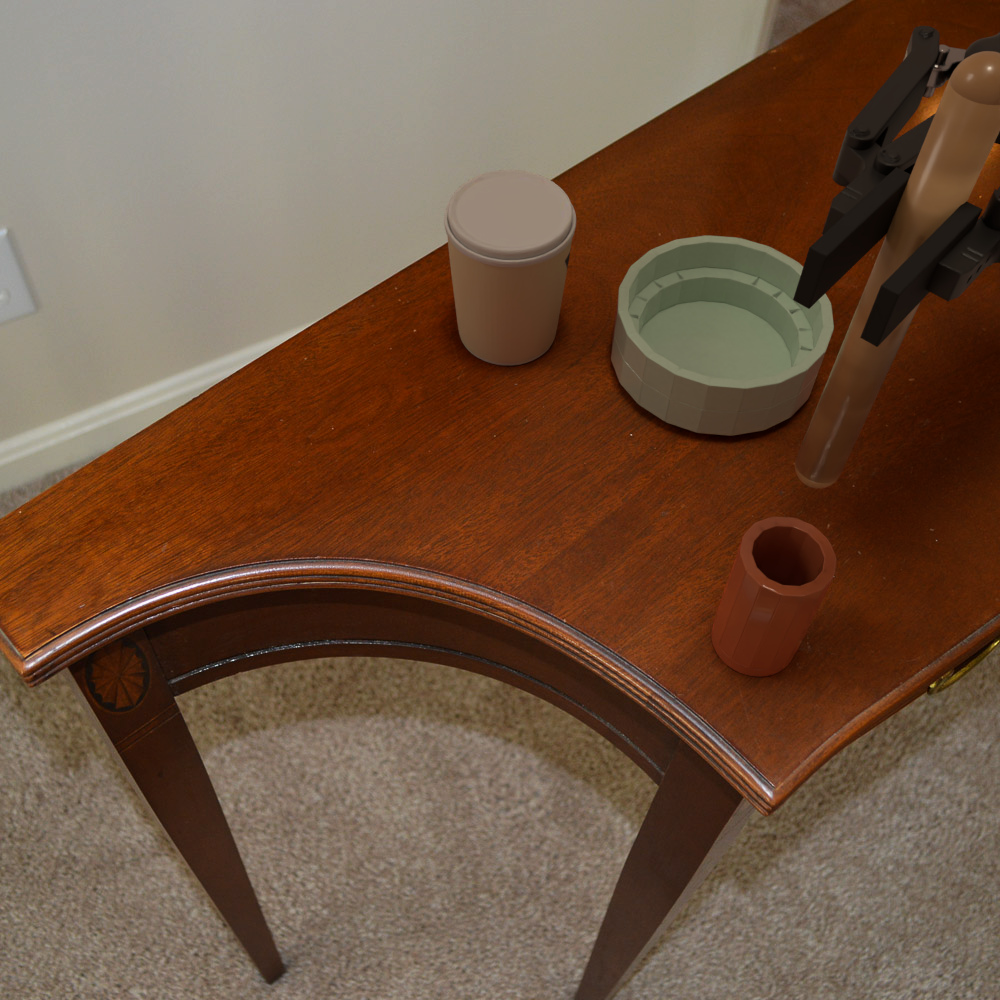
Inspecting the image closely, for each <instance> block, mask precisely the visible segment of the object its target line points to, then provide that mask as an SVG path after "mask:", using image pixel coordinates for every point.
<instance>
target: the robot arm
mask: <svg viewBox="0 0 1000 1000" xmlns="http://www.w3.org/2000/svg"><path fill="white" fill-rule="evenodd" d="M940 36H941V35H940V32H939V30H938V29H937V28H934V27H933V26H930V25H929V26H928V25H919V26H918V25H917V26H915V27H914V28H913V30H912V33H911V36H910V38H909V41H908V44H907V47H906V50H905V53H904V56H903V58H902V62H901V63H900V64H899V65H898V66H897V67H896V69H894V71H893V72H892V73H891V74H890V76H889V77H888V78H887V80H885V81H884V83H883V84H882V85H881V86H880V88H879V89H878V90H877V91H876V92H875V93H874V95H872V97H871V99H869V101H868V102H867V103H866V104H865V105H864V107H863V108H862V109H861V110H860V111H859V112H858V114H857V115H856V116H855V117H854V118H853V120H852V121H851V122H850V123H849V124H848V126H847V128H846V132H845V135H844V138H843V141H842V144H841V147H840V150H839V153H838V157H837V159H836V161H835V162H836V163H835V166H834V170H833V173H832V176H831V178H832V181H833V182H834V183H835V184H837V185H838V186H840V187H844V188H843V189H841V191H840V192H838V194H836V195H835V196H834V197H832V201H831V204H830V206H829V210H828V213H827V216H826V219H825V222H824V225H823V229H822V233H821V236H820V237H819V238H818V239H817V240H816V241H815V242H814V243H812V244H811V246H809V247H808V251H807V254H806V257H805V261H804V264H803V265H802V266H803V270H802V273H801V276H800V279H799V282H798V286H797V289H796V292H795V295H794V298H793V300H794V301H796V302H797V303H799V304H801V305H803V306H805V307H806V308H808V309H810V308H811V307H812V306H813V305H814V304H815V303H816V302H817V301H818V300H819V299H820V298H821V297H822V296H823V295H824V294H825V293H828V291H829V290H831V289H832V288H833V287H834V286H835V285H836V284H837V283H838V282H839V281H840V280H841V279H842V278H843V277H844V276H845V275H846V274H847V273H848V272H849V271H850V270H851V269H853V267H854V266H855V265H856V264H857V263H858V262H859V261H860V260H862V259H863V258H864V257H865V256H866V255H867V254H868V253H869V252H870V251H871V250H872V249H873V248H875V246H876V245H877V244H878V243H879V242H880V241H881V240H882V239H884V238H885V237H886V235H887V232H888V230H889V227H890V225H891V222H892V220H893V217H894V215H895V212H896V210H897V207H898V205H899V202H900V200H901V197H902V195H903V192H904V190H905V188H906V185H907V183H908V180H909V178H910V175H911V173H912V170H913V168H914V165H915V163H916V160H917V158H918V155H919V153H920V150H921V148H922V146H923V143H924V141H925V138H926V136H927V133H928V131H929V128H930V126H931V123H932V121H933V118H934V116H935V113H933V114H932V115H930V116H929V117H927V118H925V119H924V120H922V121H921V122H920V123H918V124H917V125H915V126H914V127H912V128H911V129H909V130H907V131H906V132H904V133H903V134H901V135H900V136H898V135H899V134H900V132H901V131H902V130H903V129H904V128H905V126H906V124H908V123H909V121H910V120H911V118H912V117H913V116H914V114H915V113H916V112H917V110H918V109H919V107H920V105H921V102H922V99H923V98H925V99H928V98H932V97H933V96H934V94H935V91H936V89H938V88H939V89H940V88H942V87H943V86H944V85H945V84H946V82H947V81H949V79H950V77H951V75H952V73H953V71H954V70H955V68H956V67H957V66H958V65H959V64H960V63H961V62H962V61H963V60H964V59H966V58H967V57H969V56H971V55H973V54H975V53H979V52H983V51H993V52H998V53H1000V31H998V33H997V34H994V35H992V36H988V37H987V36H986V37H982V38H978V39H977V40H975V41H973V42H972V43H970V45H969V46H968V47H967V48H966V49H965V48H958V47H951V46H949V45H947V44H940V38H941V37H940ZM897 136H898V137H897ZM994 144H997V145H1000V132H999V134H998V136H997V138H996V140H995V142H994ZM982 212H983V213H982ZM994 264H1000V186H999V187H998V188H997V189H996V188H994V189H993V191H992V194H991V196H990V198H989V200H988V203H987V205H986V207H985V209H984V211H983V208H981V207H980V206H977V205H975V204H973V203H971V202H969V201H966V202H965V203H964V204H962V205H961V206H960V207H959V208H958V209H957V210H956V211H955V212H954V213H953V214H952V215H951V216H950V217H949V218H948V219H947V220H946V221H945V222H944V223H943V224H942V225H941V226H940V227H939V228H938V229H937V230H936V231H935V232H934V233H933V234H932V235H931V236H930V237H929V238H928V239H927V240H926V241H925V242H924V243H923V244H922V245H921V246H920V247H919V248H918V249H917V250H916V251H915V252H914V253H913V254H912V255H911V256H910V257H909V258H908V259H907V260H906V261H905V262H904V263H903V264H902V265H901V266H900V267H899V268H898V269H897V270H896V271H895V272H894V273H893V274H892V275H891V276H890V277H889V278H888V279H887V280H886V281H885V282H884V283H883V284H882V285H881V287H880V289H879V292H878V294H877V297H876V299H875V302H874V304H873V307H872V309H871V312H870V314H869V317H868V319H867V322H866V324H865V327H864V329H863V332H862V334H861V337H860V338H862V339H864V340H865V341H867V342H869V343H871V344H872V345H874V346H876V347H878V346H879V345H880V344H881V343H882V342H883V341H884V340H885V339H886V338H887V336H888V335H889V334H890V333H891V332H892V331H893V330H894V329H895V328H896V327H897V326H898V325H899V324H900V323H901V322H902V321H903V320H904V319H905V317H906V316H907V315H908V314H909V313H910V312H911V311H912V310H913V309H914V308H915V307H916V306H917V305H918V304H919V303H920V304H921V302H922V301H923V300H924V299H925V298H926V297H927V296H928V294H930V293H931V294H933V295H935V296H936V297H938V298H941V299H942V300H944V301H946V302H951V301H952V300H955V299H958V298H959V297H960V296H961V295H962V294H963V293H964V292H965V291H966V290H967V289H968V288H969V287H970V286H971V285H972V283H973V282H974V281H976V279H977V278H978V277H979V276H980V275H981V274H982V273H983V272H984V271H985V269H986V268H988V267H991V266H992V265H994ZM920 304H919V305H920Z"/></svg>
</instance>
